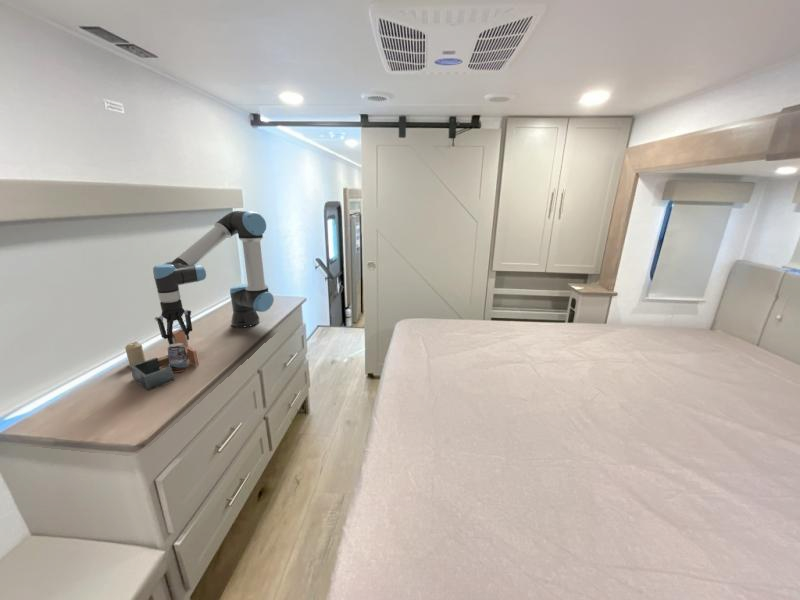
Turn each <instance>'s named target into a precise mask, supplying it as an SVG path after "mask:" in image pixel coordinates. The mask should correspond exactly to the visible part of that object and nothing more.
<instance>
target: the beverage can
mask: <svg viewBox="0 0 800 600" xmlns="http://www.w3.org/2000/svg"><path fill="white" fill-rule="evenodd" d="M167 355H168V358H169V364H168V365H169V366H168V367H171V368H172V372H173V373H180V372H183V371H185V370H186V369H187V368H188V363H187V358H186V351H185V346H184V345H183V343H174V344H170V345H169V344H168V347H167Z"/></svg>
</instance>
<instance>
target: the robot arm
mask: <svg viewBox="0 0 800 600" xmlns="http://www.w3.org/2000/svg"><path fill="white" fill-rule="evenodd" d="M266 229H267V222H266V219H265V218H264V217H263V216H262V215H261V214H260V213H258V212H255V211H251V210H249V211H246V210H245V211H243V210H234V211H231V212H229V213H227V214H226V215H224V216H222V218H220V219H218V221H216V222H215V223H214V226H213V227H212V228H211V229H210V230H209V231H208V232H206V233H204V235H203V236H201V237H200V238H199V239H198V240H197V241H195V242H194V243H193V244H191V245H190V246H189V247H188V248H187V249H185V251H183V252H182V253H181V254H180V255H179V256H177V257H176V258H175V259H174V260H172V261H167V262H165V263H163V264H158V265H155V266H153V267H152V270H153V271H152V273H153V278H154V282H155V286H156V290H157V296H158V299H159V301H160V302H159V304H160V308H161V314H160V315H158V316H155V318H154V320H155V321H156V322H157V325H158V328H159V332H160V335H161V338H163V339H164V340H166V339H167V342H168V346H169V345H170V344H174V343H175V338H174V337H172V332H173V327H174V326H173V325H174V322H175V321H177V323H178V325H179V327H180V328H181V329H180V330H182V331H184V333H185V337H186V342H187V347H190V346H189V340H190V335H189V334H190V332H192V331H193V325H192V320H191V319H192V317H191V315H192V311H191V310H189V309H184V308H183V303H182V299H181V293H180V288H179V286H181V285H185V284H186V285H187V284H192V283H198V282H201V281H204V280H205V279H206V277H207V271H206V269H205V267H204V266H203V265H202V264H198V263H200V261H202V260H203V259H204V258H205V257H206V256H207V255H209V254H210V253H211V252H212V251H213V250H214V249H215V248H217V247H218V246H219V245H220V244H222V243H223V241H225V240H226V239H230V238H232V237H233V236H234V235H238V236H237V237H238V239H239V240H240V241H241V243H242V249H243V255H244V257H243V258H244V265H245V266H244V267H245V273H246V282H247V284H246V283H245V284H240V285H239V284H238V285H235V286H232V287H231V288H230V289H229V294H230V298H231V299H230V301H231V306H232V316H231V321H230V323H231V326H232V325H233V326H237V327H236V328H239V327H241V328H245V327H244V326H250V325H253V326H255V325H254V324H256V323H258V322H259V320H260V316H259V314H258V313H257V312H260V313H263V312H267V311H268V310H270V309H271V307H272V306H273V305H274V295H273V294H272V292H270V291H269V286H268V285H267V284H266V283H265V276H264V275H265V274H264V265H263V264H264V263H263V257H262V247H261V241H262V239H264V236H263V234H264V233H266V232H265V231H266ZM183 315H184V319H185V322H184V319H183ZM164 319H165V320H166V328H165V324H164ZM259 323H260V322H259ZM259 323H258V324H259ZM185 324H186V325H185ZM256 325H257V324H256ZM233 326H232V327H233ZM250 327H251V326H250Z"/></svg>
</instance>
